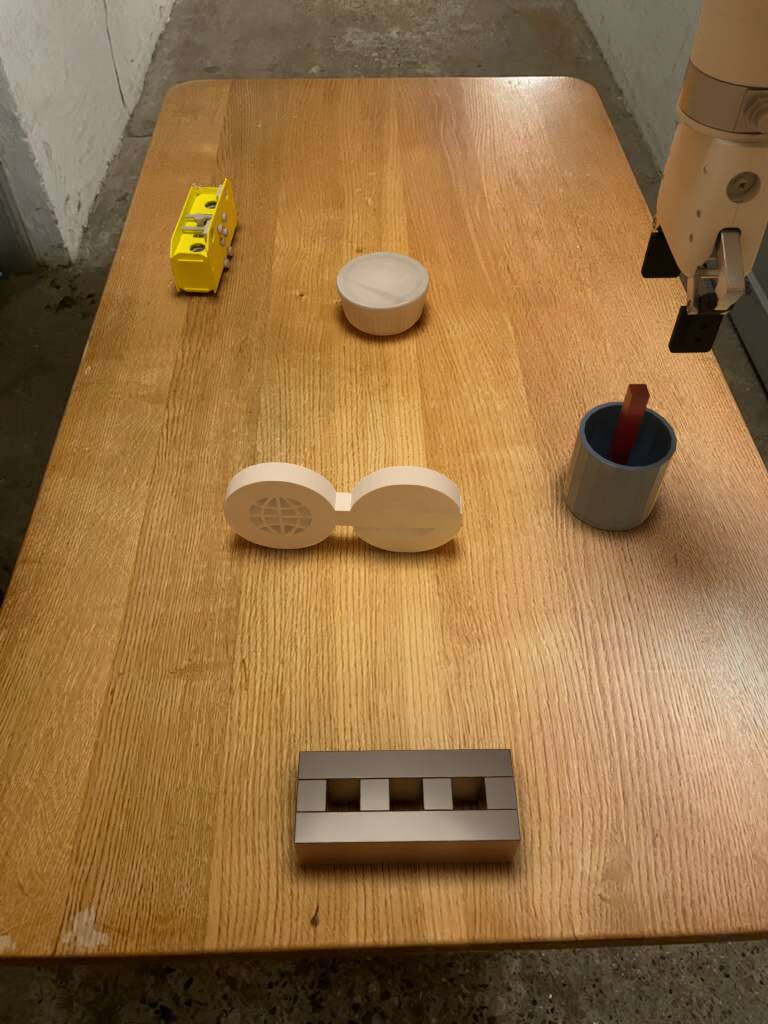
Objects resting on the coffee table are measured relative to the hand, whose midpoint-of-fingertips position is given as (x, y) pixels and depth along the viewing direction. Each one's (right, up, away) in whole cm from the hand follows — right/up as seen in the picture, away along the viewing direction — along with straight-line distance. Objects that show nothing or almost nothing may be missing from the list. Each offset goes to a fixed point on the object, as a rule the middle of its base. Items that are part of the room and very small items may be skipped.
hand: (673, 311), depth 67 cm
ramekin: (-23, +8, +37) cm, 45 cm away
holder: (-22, -40, -2) cm, 45 cm away
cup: (0, -15, +18) cm, 23 cm away
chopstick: (-1, -14, +18) cm, 23 cm away
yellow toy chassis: (-46, +17, +44) cm, 66 cm away
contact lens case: (-27, -19, +15) cm, 36 cm away
